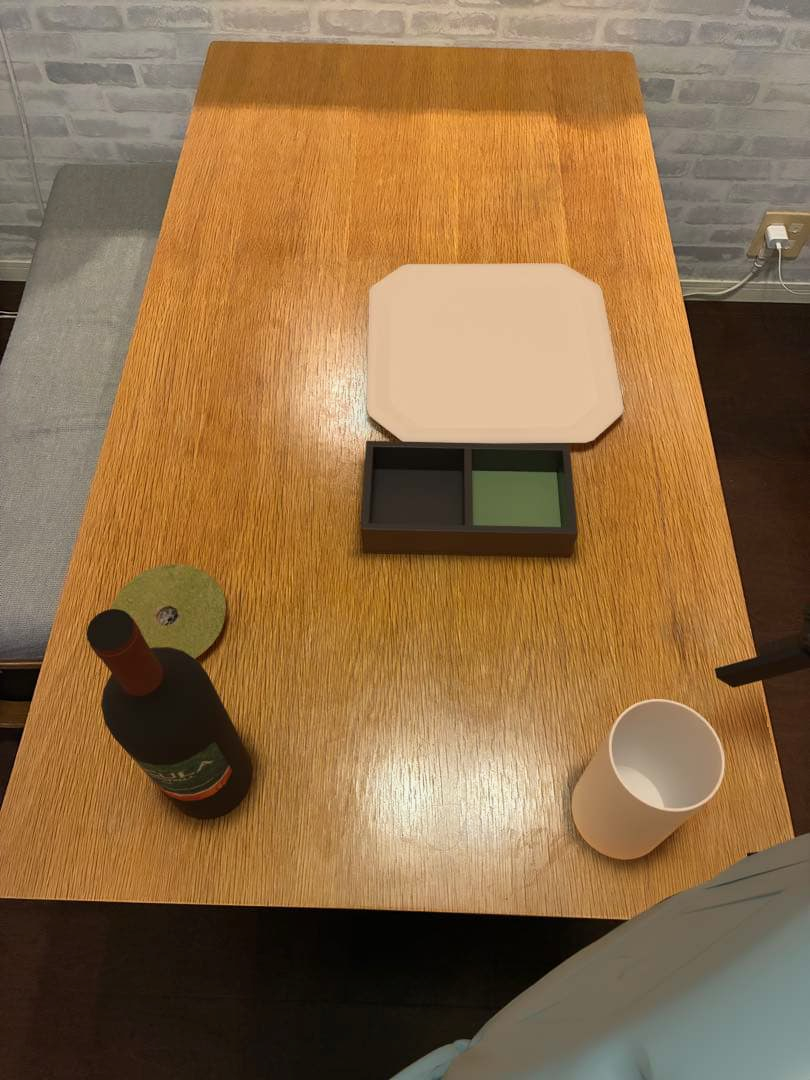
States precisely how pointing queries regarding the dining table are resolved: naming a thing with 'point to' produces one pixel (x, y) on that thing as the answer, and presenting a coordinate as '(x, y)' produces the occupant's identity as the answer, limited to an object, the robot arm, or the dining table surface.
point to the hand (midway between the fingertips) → (738, 765)
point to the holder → (468, 499)
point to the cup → (647, 778)
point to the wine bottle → (170, 719)
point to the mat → (175, 607)
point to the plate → (491, 355)
